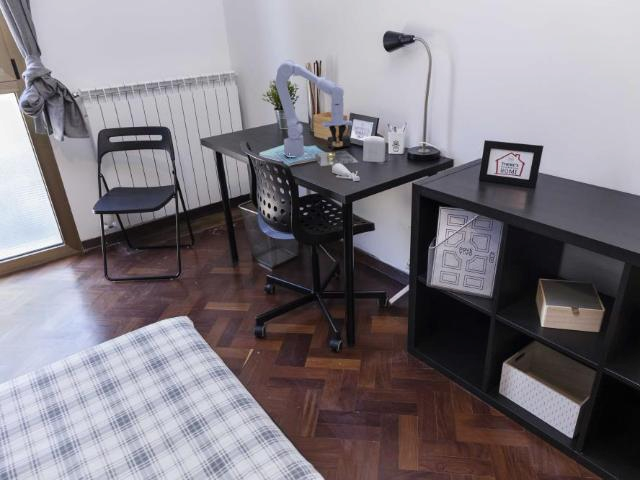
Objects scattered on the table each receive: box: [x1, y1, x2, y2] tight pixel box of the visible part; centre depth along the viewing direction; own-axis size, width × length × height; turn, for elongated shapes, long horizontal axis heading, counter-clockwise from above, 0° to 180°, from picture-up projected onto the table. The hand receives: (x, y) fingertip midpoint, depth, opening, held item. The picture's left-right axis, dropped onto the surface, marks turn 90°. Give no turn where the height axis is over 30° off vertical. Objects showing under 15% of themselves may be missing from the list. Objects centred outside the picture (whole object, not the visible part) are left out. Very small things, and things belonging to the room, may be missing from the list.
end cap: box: [327, 134, 351, 150], centre depth 245 cm, size 10×7×7 cm
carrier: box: [310, 150, 359, 167], centre depth 229 cm, size 18×20×4 cm
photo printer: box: [362, 135, 386, 165], centre depth 222 cm, size 10×4×12 cm, turn 73°
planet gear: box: [332, 136, 343, 147], centre depth 232 cm, size 5×5×4 cm
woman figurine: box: [331, 163, 361, 182], centre depth 208 cm, size 12×4×18 cm
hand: (337, 141), depth 232 cm, fingers closed on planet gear, 2 cm apart
